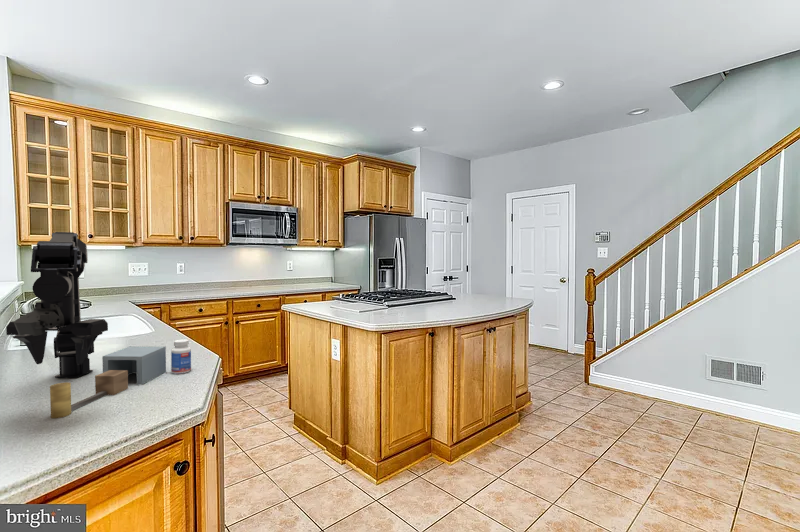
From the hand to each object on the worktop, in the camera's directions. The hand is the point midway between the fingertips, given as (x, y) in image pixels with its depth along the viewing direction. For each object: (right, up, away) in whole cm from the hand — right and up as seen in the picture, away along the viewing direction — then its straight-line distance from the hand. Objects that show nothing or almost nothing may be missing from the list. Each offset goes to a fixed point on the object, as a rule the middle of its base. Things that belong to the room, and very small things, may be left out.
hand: (59, 364), depth 90 cm
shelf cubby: (0, -11, +26) cm, 28 cm away
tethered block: (0, -11, +8) cm, 14 cm away
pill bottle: (+10, -11, +33) cm, 36 cm away
